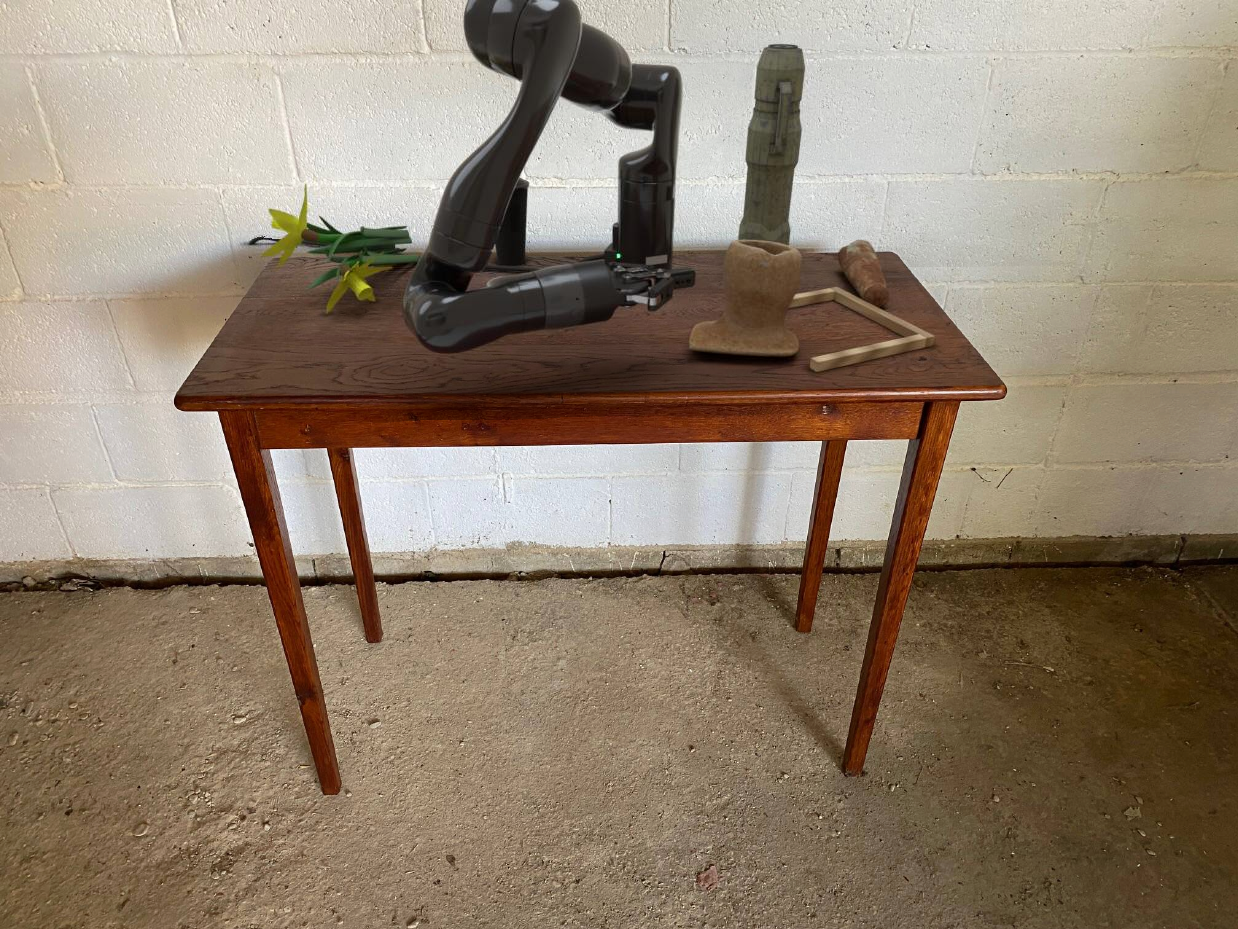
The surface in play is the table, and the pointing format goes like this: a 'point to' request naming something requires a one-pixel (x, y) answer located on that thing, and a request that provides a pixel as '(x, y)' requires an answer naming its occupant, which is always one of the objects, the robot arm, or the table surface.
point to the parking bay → (911, 333)
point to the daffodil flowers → (342, 250)
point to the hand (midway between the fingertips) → (692, 276)
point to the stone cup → (753, 302)
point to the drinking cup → (513, 228)
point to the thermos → (773, 144)
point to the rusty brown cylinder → (864, 272)
